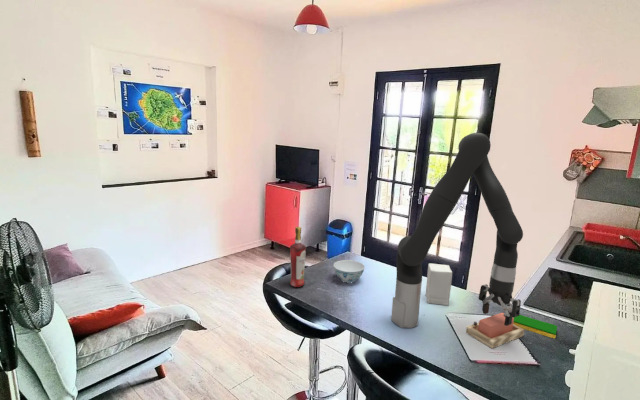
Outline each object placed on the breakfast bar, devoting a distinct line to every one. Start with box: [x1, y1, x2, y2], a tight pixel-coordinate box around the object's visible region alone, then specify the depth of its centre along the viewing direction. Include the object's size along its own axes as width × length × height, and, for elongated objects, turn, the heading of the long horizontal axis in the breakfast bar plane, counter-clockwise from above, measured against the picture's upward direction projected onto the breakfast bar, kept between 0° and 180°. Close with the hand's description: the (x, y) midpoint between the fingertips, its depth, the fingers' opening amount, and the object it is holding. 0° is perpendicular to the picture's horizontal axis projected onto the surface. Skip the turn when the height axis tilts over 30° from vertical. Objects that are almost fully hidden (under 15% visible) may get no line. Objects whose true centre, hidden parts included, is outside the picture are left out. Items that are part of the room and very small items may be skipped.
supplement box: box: [425, 263, 453, 306], centre depth 147 cm, size 9×9×15 cm
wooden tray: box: [465, 321, 525, 349], centre depth 123 cm, size 18×10×4 cm, turn 118°
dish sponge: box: [513, 314, 558, 339], centre depth 128 cm, size 7×14×2 cm, turn 52°
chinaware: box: [333, 259, 365, 284], centre depth 165 cm, size 15×15×8 cm
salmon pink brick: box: [478, 312, 514, 339], centre depth 123 cm, size 13×4×6 cm, turn 118°
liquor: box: [289, 226, 307, 288], centre depth 156 cm, size 7×7×28 cm
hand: (495, 319), depth 122 cm, fingers open, 8 cm apart
